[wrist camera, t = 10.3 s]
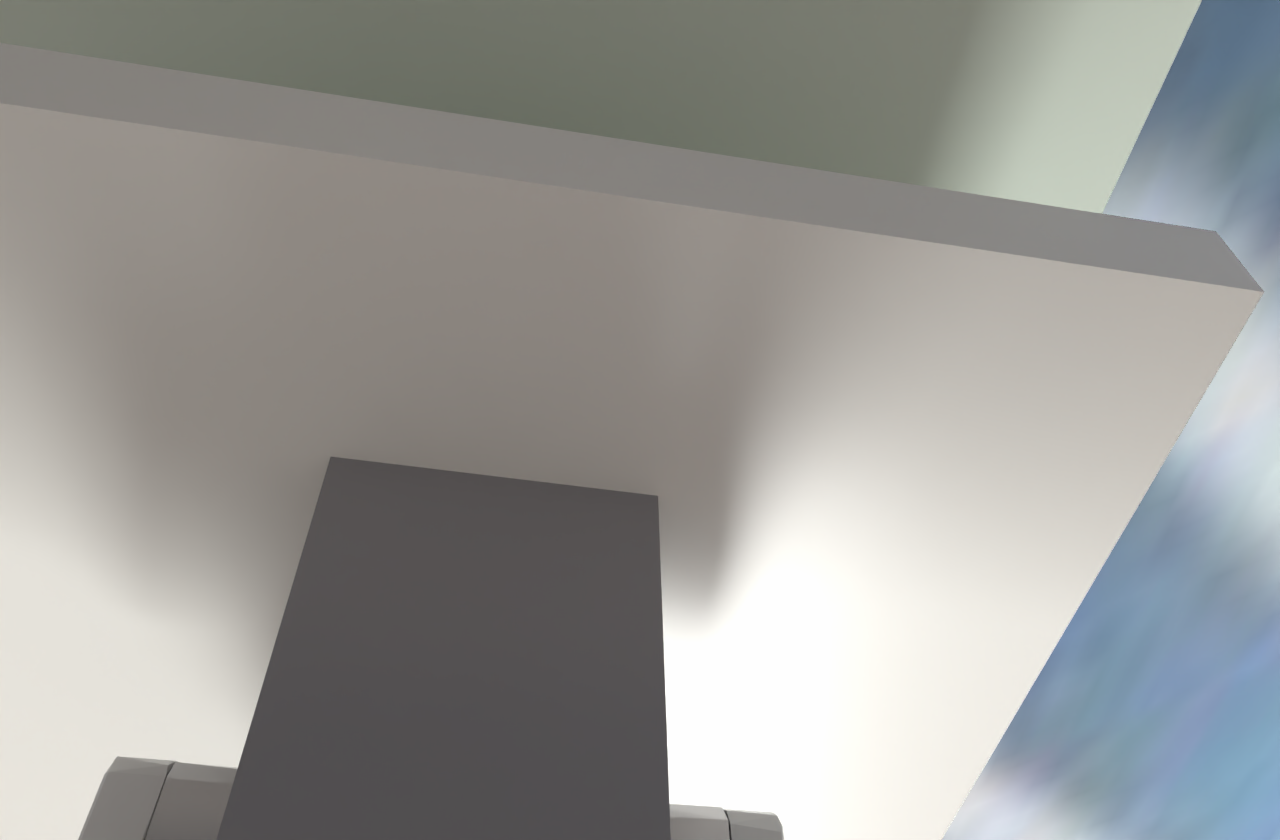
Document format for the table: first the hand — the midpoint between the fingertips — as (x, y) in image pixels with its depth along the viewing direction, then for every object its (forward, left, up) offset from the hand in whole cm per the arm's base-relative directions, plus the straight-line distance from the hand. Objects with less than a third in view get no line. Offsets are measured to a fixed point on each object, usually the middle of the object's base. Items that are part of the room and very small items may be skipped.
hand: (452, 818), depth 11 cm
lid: (0, 0, -4) cm, 4 cm away
